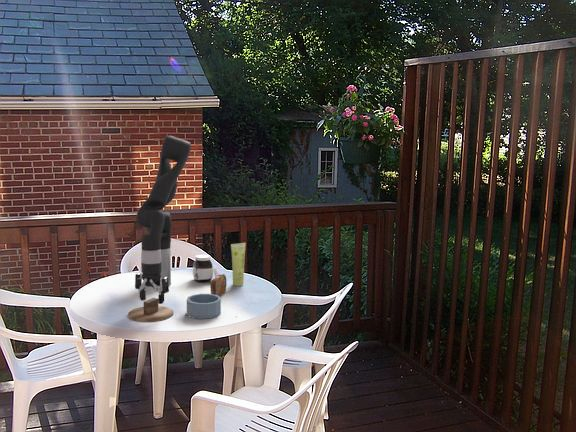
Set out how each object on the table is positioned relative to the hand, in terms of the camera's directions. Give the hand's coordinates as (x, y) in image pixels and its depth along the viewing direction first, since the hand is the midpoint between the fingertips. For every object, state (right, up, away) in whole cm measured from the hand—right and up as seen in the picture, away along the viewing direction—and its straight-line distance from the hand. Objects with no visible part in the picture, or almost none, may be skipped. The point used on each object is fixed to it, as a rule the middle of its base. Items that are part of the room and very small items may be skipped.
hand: (152, 301), depth 226 cm
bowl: (+19, -5, +4) cm, 20 cm away
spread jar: (+14, +3, +50) cm, 52 cm away
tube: (+29, +1, +44) cm, 53 cm away
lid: (-1, -5, +1) cm, 5 cm away
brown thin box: (+22, -1, +27) cm, 35 cm away
